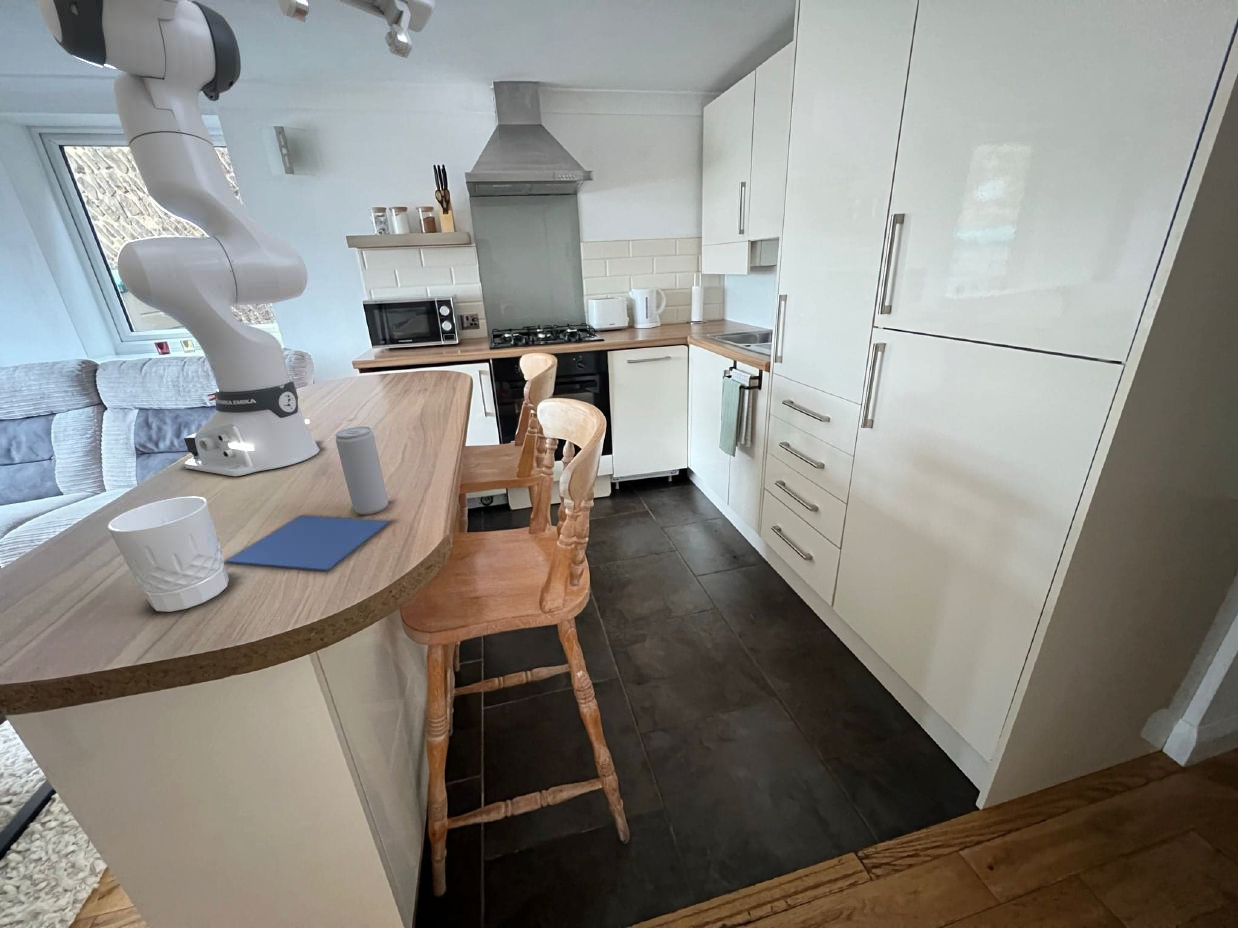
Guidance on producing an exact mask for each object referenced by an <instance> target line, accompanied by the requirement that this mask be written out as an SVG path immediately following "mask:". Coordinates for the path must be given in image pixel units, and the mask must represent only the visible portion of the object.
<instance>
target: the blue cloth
mask: <svg viewBox="0 0 1238 928" xmlns="http://www.w3.org/2000/svg"><path fill="white" fill-rule="evenodd" d="M388 524H389V521H387V520H372V519H358V518H357V519H356V518H341V517H326V516H325V517H324V516H310V515H309V516H308V515H307V516H305V515H300V516H298V517H297V518H295V519H293V520H291V521H290V522H288V523H286V524H285V525H283V526H281V527H280V528H278V529H277V530H275V531H273V532H272V533H269V534H268V535H266V536H264V537H263V538H261V539H260V540H258V541H256V542H254V543H253V544H252V545H249V546H248V547H246V548H244V549H242V551H240V552H238V553H236V554H235V555H233V556H232V557H229V558H228V559H227V560H225V561H226V563H227V564H239V565H249V566H260V567H261V566H262V567H273V568H274V567H275V568H285V569H297V570H298V569H299V570H307V571H308V570H309V571H321V572H328V571H329V570H331V569H332V568H333V567H334V566H336V565H337V564H338V563H339V562H341V561H342V560H344V558H346V557H348V555H350V554H351V553H352V552H353V551H355V550H356V549H357V548H359V547H360V546H361V545H362V544H364V543H365V542H366V541H368V540H370V538H372V536H374V535H375V534H377V533H378V532H379V531H380V530H382V529H383V528H384V527H385V526H387V525H388Z"/></svg>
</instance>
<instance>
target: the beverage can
mask: <svg viewBox="0 0 1238 928" xmlns="http://www.w3.org/2000/svg"><path fill="white" fill-rule="evenodd" d="M335 444H336V448H337V452H338V456H339V461H340V464H341V468H342V472H343V475H344V480H345V483H346V487H347V490H348V491H347V492H348V494H349V498H350V502H351V505H352V509H353V510H354V512H355V513H357V514H358V515H363V516H367V515H374V514H378V513H380V512H382V511H383V510H385V509H386V508H387V507H388V504H389V498H388V493H387V489H386V484H385V479H384V475H383V470H382V467H381V461H380V457H379V453H378V452H379V451H378V447H377V443H376V440H375V434H374V432H373V431H372V427H370V426H351V427H346V428H343V429H340V430H338V431H337V432H335Z"/></svg>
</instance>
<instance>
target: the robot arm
mask: <svg viewBox="0 0 1238 928" xmlns="http://www.w3.org/2000/svg"><path fill="white" fill-rule="evenodd" d="M336 1H337V2H339V3H342V4H344V5H347V6H349V7H352V8H354V9H356V10H359V11H362V12H364V13H367V14H370V15H372V16H373V17H374V16H375V17H377V18H379V19H382V20H385V21H386V22H387V25H388V26H389V31H388V32H387V33H386V35H385V36H384V39H385V41H386V45H387V46H388V47H389V52H390V53H391V54H393V55H396V56H398V57H401V58H404V59H407V58H408V57H409V56H410V53H411V52H412V49H413V42H412V39H411V37H410V34H409V32H408V30H410V31H412V32H414V33H421V32H422V31H423V29H424V28H425V27H426V25H427V24H428V23H429V21H430V20H431V17H432V15H433V13H434V11H435V7H436V0H336ZM277 2H278V5H279V7H280V9H281V12H282V14H283V15H284V17H285V18H290V19H292V20H296V21H298V22H301V23H306V21H307V18H306V16H308V15H309V12H310V6H309V2H308V0H277ZM36 5H37V8H38V10H39V13H40V16H41V19H42V20H43V21H44V22H43V23H45V25H46V27H47V29H49V31H50V33H51V34H52V36H53V38H54V40H55V41H56V43H57V44H58V45H59V46H60V47H61V48H62V49H63V50H64V51H65V52H66V53H67V54H68V55H69V56H72V57H74V58H76V59H78V60H80V61H83V62H86V63H87V64H91V65H94V66H97V67H100V68H104V66H105V67H108V68H112V69H114V70H118V71H121V72H119V74H117V76H116V77H115V78H114V82H113V93H114V98H115V99H114V100H115V105H116V109H117V114H118V117H119V121H120V125H121V128H122V131H123V134H124V137H125V140H126V142H127V146H128V148H129V150H130V152H131V155H132V157H133V161H134V163H135V165H136V168H137V170H138V172H139V175H140V177H141V180H142V182H143V185H144V188H145V190H146V193H147V195H148V196H149V198H150V199H151V200H152V201H153V202H154V203H155V204H156V205H157V206H158V207H159V208H160V209H161V210H162V211H164V212H166V213H167V214H169V215H170V216H173V217H175V218H178V219H180V220H182V221H185V222H187V223H188V224H189V223H190V225H193V226H195V227H196V228H197V229H199V230H200V231H201V232H202V233H204V234H205V235H206V236H195V235H194V236H193V235H192V236H188V235H187V236H186V235H158V236H152V237H144V238H139V239H133V240H128V241H125V242H124V244H123V245H122V246H121V247H120V249H119V251H118V254H117V257H116V269H117V273H118V276H119V279H120V281H121V283H122V284H123V286H124V287H125V288H126V290H127V291H128V292H129V293H130V294H131V295H132V296H133V297H134V298H136V299H137V300H138V301H140V302H141V303H143V304H145V305H147V306H148V307H150V308H153V309H155V310H157V311H159V312H162V313H163V314H165V315H167V316H168V317H170V318H172V319H173V320H174V321H176V322H177V323H178V324H180V325H181V326H182V327H184V328H185V329H186V331H188V332H189V333H190V334H191V335H192V337H193V338H194V339H195V340H196V342H197V343H198V345H199V346H200V348H201V350H202V351H203V354H204V357H205V358H206V360H207V363H208V365H209V368H210V370H211V373H212V375H213V379H214V381H215V384H216V387H217V390H216V392H214V393H209V394H207V395H206V396H207V397H211V396H213V397H211V398H209V399H208V401H209V402H213V401H215V410H216V411H215V412H214V413H213V414H212V415H211V416H210V418H209V419H207V421H206V422H205V423H204V424H203V425H202V426H201V427H200V428H199V429H198V430H197V431H196V432H195V433H193V434H190V435H187V436H185V437H183V441H184V444H185V446H186V449H187V452H188V453H190V454H192V455H193V457H192V458H190V459H188V460H186V461H185V462H184V466H185V469H188V470H189V469H190V470H195V471H201V472H208V473H212V474H219V475H224V476H228V477H229V476H230V477H239V476H244V475H248V474H253V473H256V472H263V471H267V470H274V469H279V468H283V467H287V466H291V465H295V464H297V463H298V464H299V463H300V462H303V461H306V460H308V459H310V458H312V457H315V455H317V454H318V453H319V452H320V447H319V446H318V445H317V441H316V439H315V438H314V437H313V435H312V433H311V431H310V429H309V426H308V424H310V420H309V419H305V416H304V414H303V411H302V409H301V407H300V406H299V395H298V392H297V391H298V390H297V387H296V385H295V382H294V381H293V380H292V379H291V377H290V373H289V370H288V369H289V368H288V366H287V363H286V358H285V356H284V355H285V354H284V352H283V348H282V344H281V343H280V341H279V340H278V338H276V337H275V336H274V335H273V334H271V333H269V331H266V330H263V329H261V328H257V327H255V326H251V325H249V324H245V323H242V322H241V321H239V319H237V318H236V316H235V315H234V313H233V311H232V308H231V307H236V306H251V305H252V306H253V305H265V304H266V305H269V304H277V303H281V302H285V301H288V300H292V299H296V298H299V297H301V295H303V293H304V292H305V289H306V287H307V284H308V270H307V267H306V266H307V265H306V264H305V261H304V260H303V258H302V256H301V255H300V254H299V252H298V251H297V250H296V249H295V248H294V247H293V246H291V245H290V244H289V243H287V242H285V241H283V240H282V239H280V238H278V237H277V236H275V235H273V234H272V233H271V232H269V231H268V230H266V229H265V228H264V227H263V226H262V225H261V224H259V223H258V222H257V221H256V220H255V219H254V218H253V217H252V216H251V215H250V213H249V212H247V210H246V209H245V208H244V207H243V205H242V204H241V202H240V201H239V199H238V197H237V196H236V193H234V191H233V189H232V186H231V184H230V182H229V180H228V178H227V175H226V173H225V170H224V168H223V165H222V162H221V161H220V157H219V156H218V153H217V150H216V147H215V145H214V143H213V140H212V137H211V135H210V133H209V131H208V128H207V126H206V124H205V122H204V119H203V117H202V115H201V111H200V108H199V95H200V93H201V92H202V93H203V95H204V96H205V97H206V99H208V100H209V101H210V102H216V101H219V99H220V94H223V93H225V92H228V91H229V90H231V88H233V86H234V85H236V83H237V82H238V80H239V79H240V76H241V70H242V65H241V53H240V49H239V44H238V40H237V37H236V35H235V33H234V30H233V28H232V27H231V25H230V24H229V22H228V21H227V19H225V17H224V16H223V15H222V14H220V13H219V12H218V11H215V9H212V8H210V7H208V6H207V5H205V4H203V3H200V2H198V1H196V0H192V1H189V0H36Z"/></svg>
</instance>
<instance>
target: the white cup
mask: <svg viewBox="0 0 1238 928" xmlns="http://www.w3.org/2000/svg"><path fill="white" fill-rule="evenodd" d="M107 529H108V531H109V533H110V535H111V537H112V539H113V540H114V542H115V545H116V546H117V548H118V550H119V552H120V554H121V556H122V557H123V559H124V562H125V564H126V565H127V567H128V568H129V570H130V572H131V574H132V575H133V578H134V579H135V580H136V582H137V583H136V584H138V586H139V588H140V589H141V590H142V591H143V593H144V595H145V596H146V599H147V601H148V602H149V604H150V606H151V607H152V608H153V609H154V610H155V611H156V612H167V613H171V612H177V611H182V610H186V609H190V608H193V607H195V606H198V605H201V604H203V603H206V602H208V601H209V600H211V599H213V598H215V597H217V596H218V595H220V594H221V593H222V592H224V590H225V589H226V588H227V587H228V584H229V581H230V579H229V575H228V572H227V569H226V566H225V563H224V554H223V551H222V550H221V543H220V541H219V537H218V533H217V530H216V526H215V523H214V520H213V517H212V514H211V510H210V508H209V503H208V500H207V499H206V498H204V497H201V496H180V497H173V498H167V499H162V500H158V501H153V502H149V503H146V504H144V505H140V506H138V507H134V508H132V509H129V510H127V511H125V512H123V513H121V514H119V515H116V516H115V517H114V518H113V519H111V520H110V521H109V522H108V523H107Z"/></svg>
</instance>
